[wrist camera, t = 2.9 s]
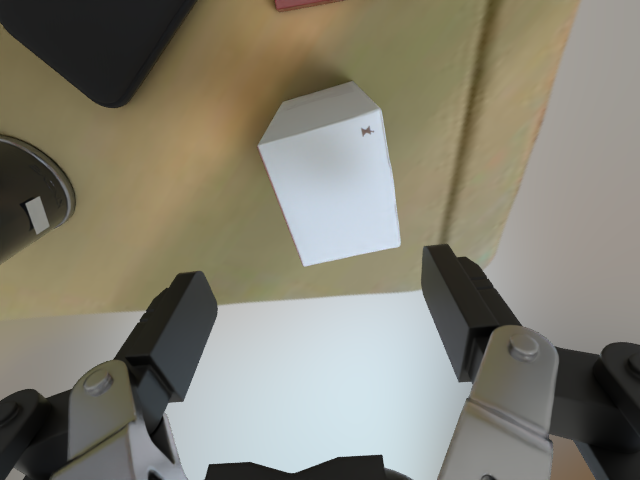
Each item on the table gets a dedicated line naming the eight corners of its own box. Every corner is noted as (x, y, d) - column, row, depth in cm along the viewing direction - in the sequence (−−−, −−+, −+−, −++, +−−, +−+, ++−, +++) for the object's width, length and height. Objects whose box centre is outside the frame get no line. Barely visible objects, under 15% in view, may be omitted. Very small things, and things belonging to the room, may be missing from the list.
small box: (280, 101, 25) (253, 142, 14) (354, 78, 24) (384, 104, 13) (308, 187, 29) (302, 269, 18) (371, 171, 29) (404, 247, 18)
